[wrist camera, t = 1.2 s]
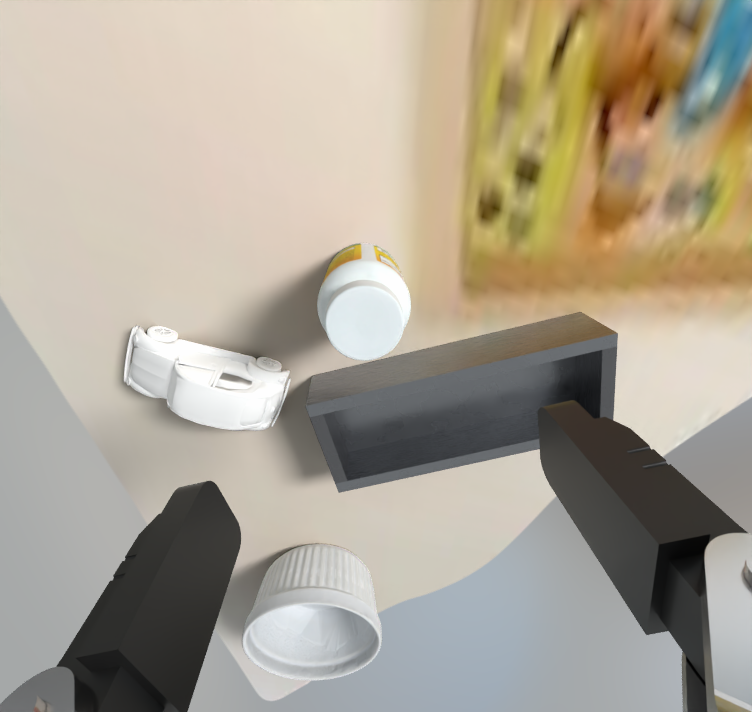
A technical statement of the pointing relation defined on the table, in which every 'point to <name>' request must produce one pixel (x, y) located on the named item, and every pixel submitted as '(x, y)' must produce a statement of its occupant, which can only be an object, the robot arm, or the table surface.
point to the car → (205, 380)
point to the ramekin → (314, 615)
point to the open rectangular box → (459, 399)
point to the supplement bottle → (363, 302)
